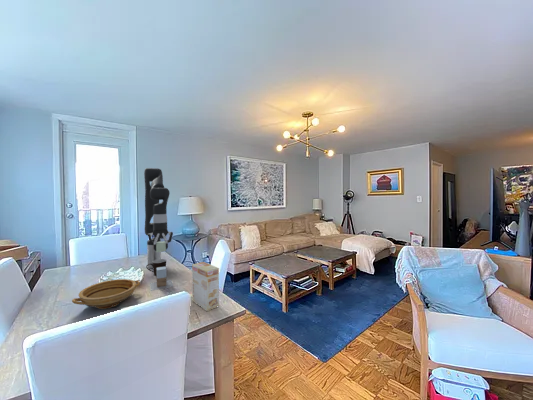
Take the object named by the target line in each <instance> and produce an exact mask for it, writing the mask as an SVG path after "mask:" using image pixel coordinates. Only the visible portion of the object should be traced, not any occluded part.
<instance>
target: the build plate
mask: <svg viewBox="0 0 533 400" xmlns="http://www.w3.org/2000/svg"><path fill="white" fill-rule="evenodd" d="M149 287H150V291H157V290H162V289H168V288H174V284H173V281H172V279H166V286H161V287H157V281H154V282H150V284H149Z"/></svg>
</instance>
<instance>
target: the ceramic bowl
mask: <svg viewBox="0 0 533 400" xmlns="http://www.w3.org/2000/svg"><path fill="white" fill-rule="evenodd" d="M140 285H141V282H140V281H139V280H133V279H128V278H119V279H110V280H105V281H102V282H97V283H95V284H91V285H90V286H86V287H85V288H83V289H82V290H80V291H79V293H78V297H76V298H72V299H71V302H72V303H73V304H75V305H81V306H83V305H85V306H87V307H92V308H97V309H103V310H105V309H110V308H114V307H116V306H118V305H120V304H121V302H123V301H126V300H127V299H128V298H129V297H131V296H132V294H133V293H134V292H135V289H136V288H138V287H139V286H140Z"/></svg>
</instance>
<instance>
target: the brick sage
mask: <svg viewBox="0 0 533 400" xmlns="http://www.w3.org/2000/svg"><path fill="white" fill-rule="evenodd" d="M156 252H161V253H162V252H167V250H166V242H165V240H164V241H162V240H161V242H156Z"/></svg>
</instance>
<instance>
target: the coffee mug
mask: <svg viewBox="0 0 533 400" xmlns="http://www.w3.org/2000/svg"><path fill="white" fill-rule="evenodd" d="M152 263H153V264H148V263H147V265H146V269H147V270H148V271H149V272H152V273H153V275H154V276H155V277H157V268H158V267H165V266H167V259H165V258H161V259H158V260H154V261H153V262H152ZM148 265H152V266H153V268H152V269H153V270H151V268H148Z"/></svg>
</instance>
